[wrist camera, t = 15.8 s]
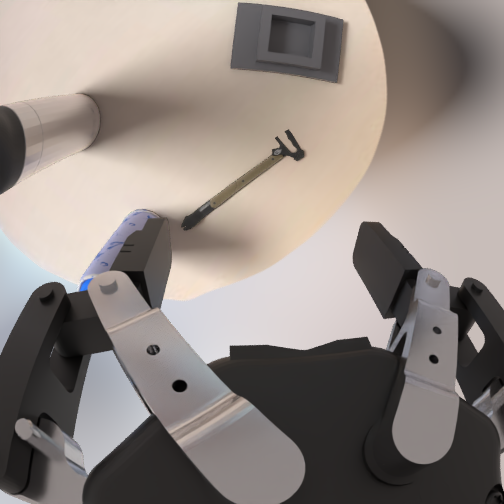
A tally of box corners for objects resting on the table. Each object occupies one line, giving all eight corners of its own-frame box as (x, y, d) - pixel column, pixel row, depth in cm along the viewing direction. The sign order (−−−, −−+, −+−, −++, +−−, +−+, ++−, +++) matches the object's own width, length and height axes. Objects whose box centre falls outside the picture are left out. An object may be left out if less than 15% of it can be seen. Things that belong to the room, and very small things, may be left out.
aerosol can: (158, 260, 46) (122, 354, 28) (117, 241, 43) (62, 326, 26) (174, 221, 42) (135, 311, 25) (129, 201, 40) (65, 278, 23)
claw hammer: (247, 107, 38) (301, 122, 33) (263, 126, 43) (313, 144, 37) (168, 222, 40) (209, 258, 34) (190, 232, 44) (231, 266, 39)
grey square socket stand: (230, 68, 31) (229, 65, 28) (238, 4, 26) (238, -4, 23) (334, 82, 32) (343, 82, 29) (341, 21, 27) (349, 15, 24)
